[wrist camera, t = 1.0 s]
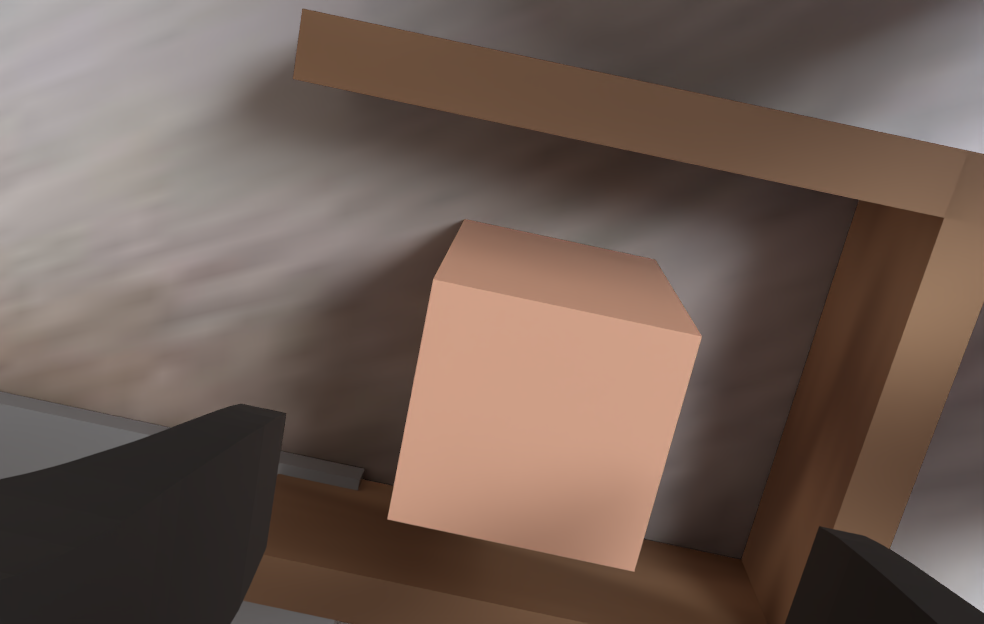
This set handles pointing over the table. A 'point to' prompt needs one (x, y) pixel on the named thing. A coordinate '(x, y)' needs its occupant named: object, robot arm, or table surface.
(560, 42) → the table surface
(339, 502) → the brown piece
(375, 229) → the table surface
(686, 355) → the block
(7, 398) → the coaster
